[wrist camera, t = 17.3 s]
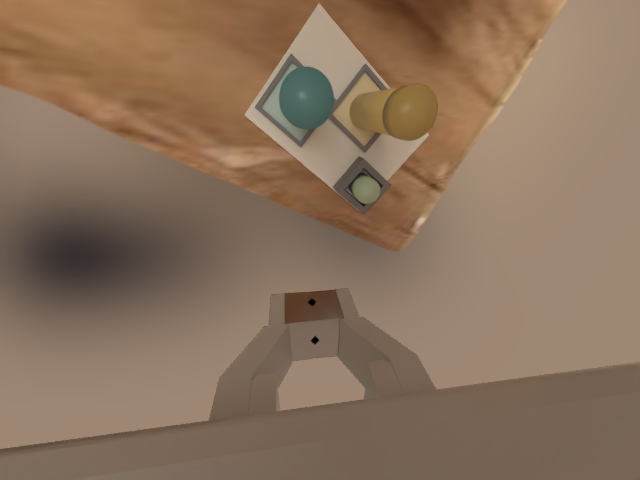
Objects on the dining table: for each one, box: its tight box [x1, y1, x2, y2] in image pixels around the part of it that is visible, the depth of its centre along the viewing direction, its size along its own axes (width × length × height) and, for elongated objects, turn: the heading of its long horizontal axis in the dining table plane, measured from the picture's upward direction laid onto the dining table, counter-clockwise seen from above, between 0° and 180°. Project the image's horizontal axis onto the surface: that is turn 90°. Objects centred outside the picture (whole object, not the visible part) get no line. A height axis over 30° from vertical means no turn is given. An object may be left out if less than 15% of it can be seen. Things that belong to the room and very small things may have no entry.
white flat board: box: [245, 4, 429, 214], centre depth 32 cm, size 14×20×4 cm
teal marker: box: [279, 67, 334, 129], centre depth 25 cm, size 4×4×12 cm
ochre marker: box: [349, 84, 438, 141], centre depth 26 cm, size 4×4×12 cm
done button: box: [349, 173, 380, 204], centre depth 34 cm, size 3×3×4 cm
